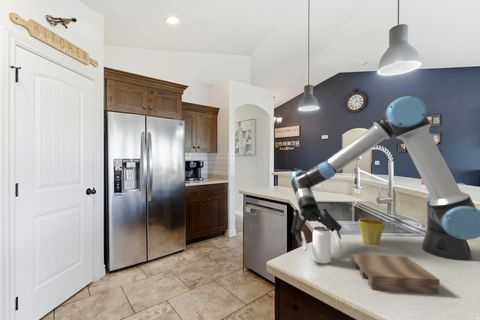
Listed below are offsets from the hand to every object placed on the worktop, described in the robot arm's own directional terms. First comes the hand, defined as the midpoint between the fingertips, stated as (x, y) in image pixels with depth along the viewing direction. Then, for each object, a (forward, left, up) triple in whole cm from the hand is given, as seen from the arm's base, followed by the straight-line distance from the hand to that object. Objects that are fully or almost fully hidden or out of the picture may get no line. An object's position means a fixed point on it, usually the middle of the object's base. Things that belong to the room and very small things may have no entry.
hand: (323, 248), depth 87 cm
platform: (-19, +10, -5) cm, 21 cm away
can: (0, -1, -5) cm, 5 cm away
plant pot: (-27, -24, -5) cm, 36 cm away
